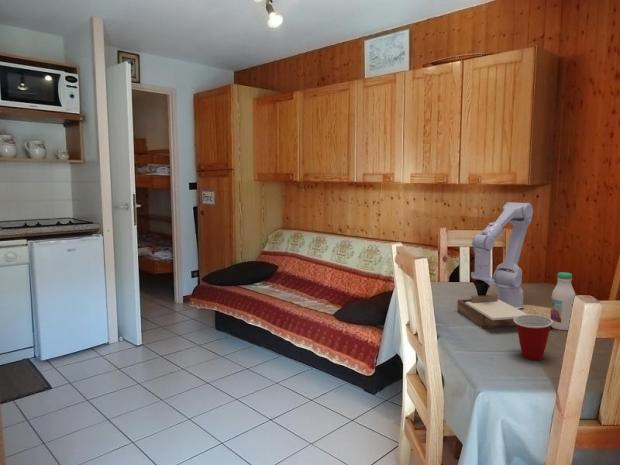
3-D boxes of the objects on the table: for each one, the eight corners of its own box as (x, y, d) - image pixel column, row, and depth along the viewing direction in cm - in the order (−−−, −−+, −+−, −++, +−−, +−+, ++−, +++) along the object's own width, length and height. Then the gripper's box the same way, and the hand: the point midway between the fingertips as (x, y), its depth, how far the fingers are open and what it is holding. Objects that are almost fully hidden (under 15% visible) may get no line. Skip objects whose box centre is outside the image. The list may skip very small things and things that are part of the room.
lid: (498, 301, 177) (499, 293, 177) (529, 317, 158) (530, 308, 157) (465, 303, 176) (465, 296, 175) (492, 320, 156) (492, 311, 155)
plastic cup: (505, 350, 143) (506, 314, 141) (537, 348, 144) (539, 312, 142) (524, 365, 132) (525, 326, 131) (559, 362, 133) (561, 323, 131)
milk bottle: (572, 324, 164) (574, 271, 162) (576, 331, 157) (579, 276, 154) (548, 323, 167) (550, 270, 164) (552, 330, 159) (554, 275, 157)
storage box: (489, 309, 185) (489, 297, 184) (518, 325, 165) (518, 312, 164) (457, 311, 183) (457, 299, 182) (482, 328, 163) (482, 315, 163)
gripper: (464, 261, 182) (463, 294, 183) (482, 269, 167) (481, 304, 169) (480, 261, 182) (479, 293, 184) (499, 268, 168) (498, 303, 170)
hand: (481, 298), depth 177 cm, fingers closed
